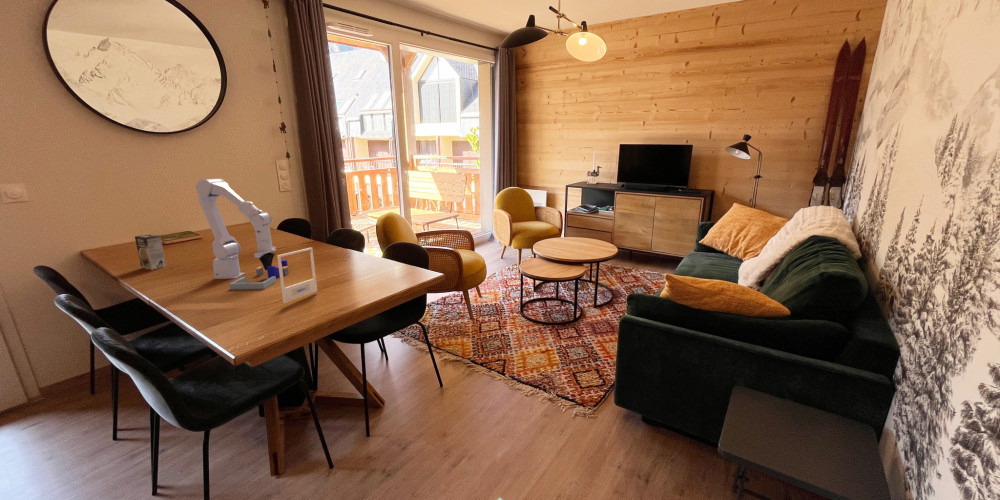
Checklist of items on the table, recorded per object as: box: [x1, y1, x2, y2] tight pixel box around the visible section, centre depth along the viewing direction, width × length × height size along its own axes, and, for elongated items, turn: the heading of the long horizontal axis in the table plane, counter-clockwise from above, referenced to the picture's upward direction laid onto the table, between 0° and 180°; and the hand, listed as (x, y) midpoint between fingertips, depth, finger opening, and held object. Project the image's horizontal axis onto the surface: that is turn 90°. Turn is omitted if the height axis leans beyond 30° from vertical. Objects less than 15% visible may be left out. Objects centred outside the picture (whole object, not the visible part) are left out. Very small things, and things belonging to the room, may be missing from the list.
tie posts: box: [255, 265, 290, 277], centre depth 184 cm, size 13×3×4 cm, turn 93°
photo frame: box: [276, 247, 318, 304], centre depth 153 cm, size 15×1×18 cm, turn 155°
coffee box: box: [134, 234, 167, 271], centre depth 195 cm, size 9×6×16 cm
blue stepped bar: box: [266, 259, 289, 280], centre depth 183 cm, size 12×4×6 cm, turn 2°
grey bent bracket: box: [228, 276, 277, 291], centre depth 169 cm, size 14×10×2 cm
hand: (268, 269), depth 180 cm, fingers closed
